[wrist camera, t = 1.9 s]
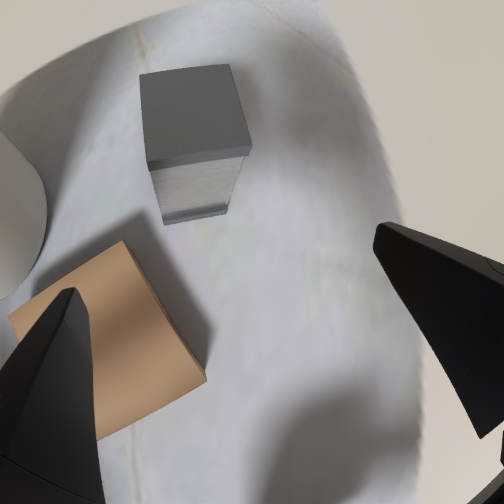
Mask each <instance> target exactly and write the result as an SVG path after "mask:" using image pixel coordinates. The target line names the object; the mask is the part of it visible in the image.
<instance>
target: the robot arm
mask: <svg viewBox="0 0 504 504" xmlns="http://www.w3.org/2000/svg"><path fill="white" fill-rule="evenodd" d="M373 251H374V253H375V255H376V257H377V259H378V260H379V262H380V264H381V266H382V267H383V269H384V271H385V273H386V275H387V276H388V278H389V280H390V282H391V284H392V286H393V287H394V289H395V291H396V292H397V294H398V295H399V297H400V298H401V300H402V301H403V303H404V304H405V306H406V308H407V309H408V311H409V312H410V314H411V315H412V317H413V318H414V320H415V322H416V323H417V325H418V326H419V328H420V330H421V331H422V333H423V335H424V336H425V338H426V339H427V341H428V343H429V345H430V346H431V348H432V350H433V351H434V353H435V355H436V356H437V358H438V360H439V362H440V363H441V365H442V367H443V369H444V370H445V372H446V374H447V376H448V378H449V379H450V381H451V383H452V385H453V387H454V388H455V391H456V393H457V395H458V397H459V399H460V400H461V402H462V404H463V406H464V408H465V410H466V412H467V414H468V416H469V418H470V420H471V423H472V425H473V427H474V429H475V431H476V433H477V435H478V437H479V438H480V439H482V438H483V437H484V436H485V435H487V434H488V433H489V432H491V431H492V430H493V429H494V428H495V427H497V426H498V425H499V424H500V423H502V422H503V421H504V264H502V263H499V262H497V261H494V260H492V259H489V258H487V257H485V256H484V257H483V256H482V255H479V254H477V253H475V252H472V251H469V250H467V249H464V248H462V247H459V246H456V245H454V244H451V243H449V242H446V241H443V240H441V239H438V238H435V237H432V236H429V235H427V234H424V233H421V232H418V231H416V230H413V229H410V228H407V227H404V226H401V225H398V224H395V223H392V222H384V223H380V224H378V226H377V228H376V233H375V238H374V242H373ZM500 461H501V463H502V464H503V466H504V431H503V438H502V450H501V459H500ZM0 504H106V503H105V497H104V492H103V486H102V479H101V473H100V465H99V457H98V449H97V439H96V427H95V412H94V388H93V359H92V349H91V337H90V323H89V313H88V310H87V307H86V305H85V303H84V301H83V299H82V297H81V295H80V293H79V291H78V289H77V288H76V287H70V288H65V289H62V290H61V291H60V292H59V294H58V295H57V296H56V297H55V298H54V300H53V301H52V302H51V303H50V304H49V306H48V307H47V308H46V309H45V311H44V312H43V313H42V314H41V316H40V317H39V318H38V319H37V321H36V322H35V323H34V325H33V326H32V327H31V328H30V330H29V331H28V332H27V334H26V335H25V336H24V338H23V339H22V340H21V342H20V343H19V344H18V346H17V347H16V349H15V350H14V351H13V353H12V354H11V356H10V357H9V358H8V360H7V361H6V363H5V364H4V366H3V367H2V369H1V370H0ZM467 504H504V469H503V470H502V471H501V472H500V473H499V474H498V475H497V477H496V478H494V479H493V480H492V481H491V483H489V484H488V485H487V486H486V487H485V488H484V489H483V490H482V491H481V492H480V493H479V494H478V495H476V497H474V498H473V499H472V500H471V501H470V502H469V503H467Z"/></svg>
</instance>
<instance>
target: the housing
mask: <svg viewBox="0 0 504 504" xmlns="http://www.w3.org/2000/svg"><path fill="white" fill-rule="evenodd" d="M139 78H140V95H141V110H142V122H143V133H144V143H145V153H146V161H147V165H148V169H149V172H150V174H151V178H152V182H153V186H154V189H155V193H156V197H157V200H158V204H159V208H160V211H161V215H162V219H163V223H164V226H165V225H170V224H175V223H180V222H185V221H191V220H196V219H201V218H207V217H212V216H218V215H223V214H226V213H227V210H228V209H227V204H228V201H229V198H230V195H231V192H232V190H233V187H234V184H235V181H236V178H237V176H238V173H239V170H240V168H241V165H242V162H243V159H244V157H245V156H248V155H249V153H250V150H251V148H252V142H251V139H250V135H249V131H248V128H247V124H246V121H245V117H244V114H243V110H242V107H241V103H240V100H239V96H238V93H237V90H236V86H235V83H234V79H233V76H232V73H231V69H230V66H229V64H223V65H210V66H199V67H190V68H181V69H174V70H167V71H160V72H154V73H148V74H142V75H139Z"/></svg>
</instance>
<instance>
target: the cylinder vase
mask: <svg viewBox="0 0 504 504" xmlns="http://www.w3.org/2000/svg"><path fill="white" fill-rule="evenodd" d="M46 222H47V201H46V194H45V189H44V186H43V183H42V180H41V178H40V176H39V174H38V172H37V171H36V169H35V168H34V167H33V166H32V165H31V164H30V162H29V161H28V160H27V159H26V158H25V157H24V156H23V155H22V154H21V153H20V152H19V150H18V149H17V148H16V147H15V146H14V145H13V144H12V143H11V141H10V140H9V139H8V138H7V137H6V136H5V135H4V133H3V132H2V131H1V130H0V300H1V299H3V298H5V297H6V296H8V295H9V294H11V293H12V292H13V291H14V290H15V289H17V288H18V287H19V285H20V284H21V283H22V282H23V281H24V280H25V278H26V277H27V275H28V274H29V272H30V271H31V269H32V267H33V265H34V263H35V261H36V259H37V257H38V254H39V252H40V249H41V246H42V243H43V239H44V234H45V229H46Z"/></svg>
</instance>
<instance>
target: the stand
mask: <svg viewBox="0 0 504 504" xmlns="http://www.w3.org/2000/svg"><path fill="white" fill-rule="evenodd" d="M70 287H76V288H77V289H78V291H79V293H80V295H81V297H82V299H83V301H84V303H85V305H86V307H87V310H88V313H89V323H90V337H91V349H92V359H93V388H94V412H95V427H96V439H97V441H98V440H100V439H102V438H104V437H107V436H109V435H111V434H113V433H115V432H117V431H119V430H121V429H123V428H124V427H126V426H128V425H130V424H132V423H134V422H136V421H138V420H140V419H142V418H144V417H145V416H147V415H149V414H151V413H153V412H155V411H157V410H158V409H160V408H162V407H164V406H166V405H167V404H169V403H171V402H173V401H174V400H176V399H178V398H180V397H181V396H183V395H185V394H187V393H188V392H190V391H192V390H193V389H195V388H197V387H198V386H200V385H202V384H203V383H205V382H207V378H206V374H205V371H204V370H203V368H202V367H201V365H200V364H199V362H198V361H197V359H196V358H195V356H194V355H193V353H192V352H191V350H190V349H189V347H188V346H187V344H186V342H185V341H184V339H183V338H182V336H181V335H180V333H179V331H178V330H177V328H176V327H175V325H174V323H173V322H172V320H171V319H170V317H169V315H168V314H167V312H166V310H165V309H164V307H163V305H162V304H161V302H160V300H159V299H158V297H157V295H156V293H155V292H154V290H153V288H152V287H151V285H150V283H149V281H148V280H147V278H146V276H145V274H144V272H143V271H142V269H141V267H140V265H139V263H138V261H137V260H136V258H135V256H134V254H133V252H132V250H131V249H130V248H129V247H128V246H127V245H126V244H125V242H124V241H123V240H121V241H120V242H118V243H117V244H115V245H113V246H112V247H110V248H108V249H107V250H105V251H103V252H102V253H100V254H99V255H97V256H95V257H94V258H92V259H91V260H89V261H88V262H86V263H84V264H83V265H81V266H80V267H78V268H77V269H75V270H74V271H72V272H70V273H69V274H67V275H66V276H64V277H63V278H61V279H60V280H58V281H57V282H55V283H54V284H52V285H51V286H49V287H48V288H47V289H45V290H44V291H42V292H41V293H39V294H38V295H36V296H35V297H34V298H32V299H31V300H29V301H28V302H26V303H25V304H24V305H22V306H21V307H19V308H18V309H17V310H15V311H14V312H13V313H11V314H10V315H8V317H9V319H10V322H11V324H12V326H13V329H14V331H15V333H16V335H17V338H18V340H19V342H21V340H22V339H23V338H24V336H25V335H26V334H27V332H28V331H29V330H30V328H31V327H32V326H33V325H34V323H35V322H36V321H37V319H38V318H39V317H40V316H41V314H42V313H43V312H44V311H45V309H46V308H47V307H48V306H49V304H50V303H51V302H52V301H53V300H54V298H55V297H56V296H57V295H58V294H59V292H60V291H61V290H62V289H65V288H70Z"/></svg>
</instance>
